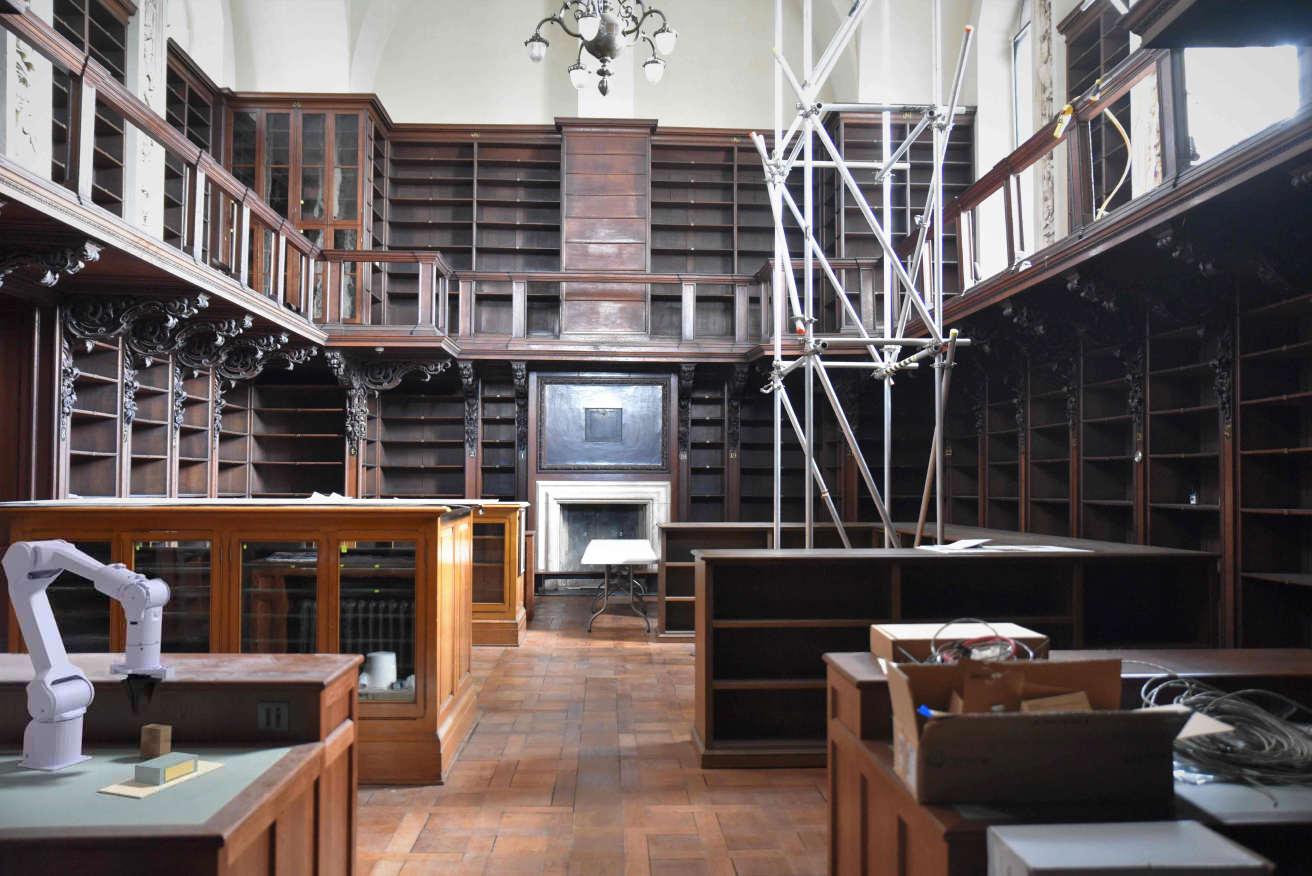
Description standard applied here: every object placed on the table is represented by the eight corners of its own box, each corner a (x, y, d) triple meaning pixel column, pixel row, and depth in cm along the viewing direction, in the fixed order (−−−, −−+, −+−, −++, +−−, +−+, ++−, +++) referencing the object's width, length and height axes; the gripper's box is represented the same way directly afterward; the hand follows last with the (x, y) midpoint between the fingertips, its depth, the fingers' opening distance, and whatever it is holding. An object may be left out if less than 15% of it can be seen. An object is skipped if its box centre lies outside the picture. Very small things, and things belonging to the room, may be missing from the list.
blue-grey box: (135, 765, 146) (160, 768, 144) (173, 751, 154) (198, 755, 152) (134, 782, 146) (160, 785, 144) (173, 768, 153) (198, 771, 151)
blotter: (98, 791, 142) (98, 790, 142) (186, 760, 159) (186, 758, 159) (140, 798, 139) (141, 796, 139) (226, 765, 156) (226, 764, 156)
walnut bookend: (140, 757, 160) (141, 727, 161) (151, 754, 162) (152, 723, 163) (159, 760, 159) (160, 729, 159) (170, 756, 161) (171, 726, 161)
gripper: (96, 644, 155) (92, 716, 154) (153, 648, 150) (149, 723, 149) (130, 638, 162) (126, 707, 161) (185, 642, 157) (182, 713, 156)
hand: (140, 714), depth 155 cm, fingers closed
